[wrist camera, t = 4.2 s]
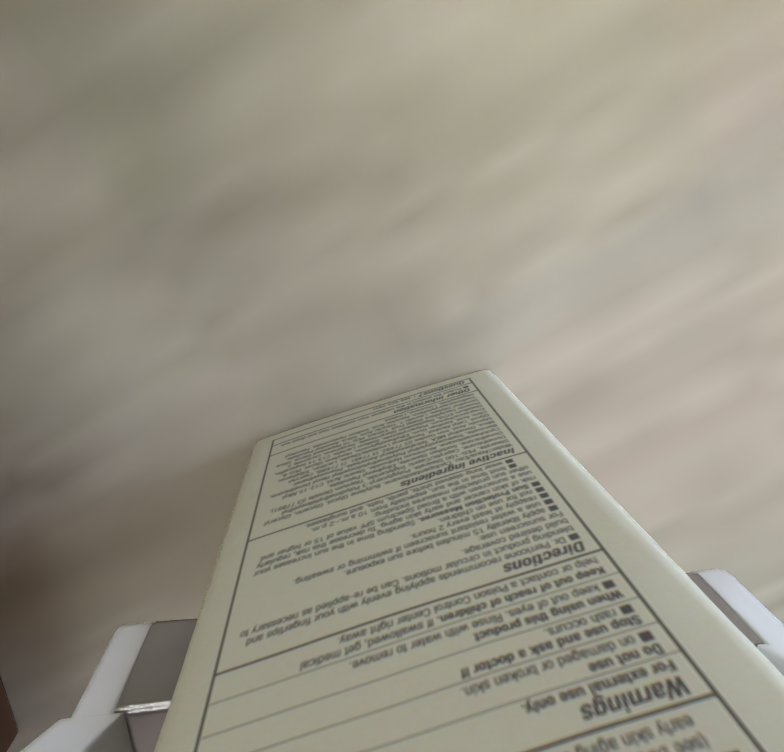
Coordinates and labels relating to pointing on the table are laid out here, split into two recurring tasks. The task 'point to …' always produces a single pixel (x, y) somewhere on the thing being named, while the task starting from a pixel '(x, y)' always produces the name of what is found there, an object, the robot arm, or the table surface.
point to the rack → (6, 722)
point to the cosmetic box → (454, 601)
